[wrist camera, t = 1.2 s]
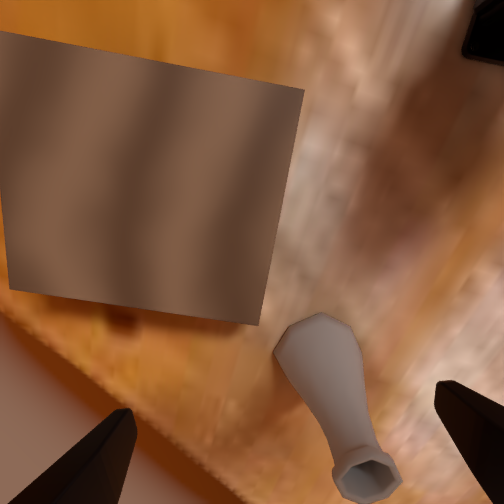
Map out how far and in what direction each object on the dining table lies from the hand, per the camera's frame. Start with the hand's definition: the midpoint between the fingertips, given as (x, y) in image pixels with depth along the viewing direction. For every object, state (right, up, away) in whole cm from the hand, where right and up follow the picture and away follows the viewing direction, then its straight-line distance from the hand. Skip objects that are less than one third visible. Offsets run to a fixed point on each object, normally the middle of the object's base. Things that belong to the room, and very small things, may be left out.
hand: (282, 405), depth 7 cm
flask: (+5, -4, +15) cm, 16 cm away
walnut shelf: (-7, +9, +11) cm, 16 cm away
